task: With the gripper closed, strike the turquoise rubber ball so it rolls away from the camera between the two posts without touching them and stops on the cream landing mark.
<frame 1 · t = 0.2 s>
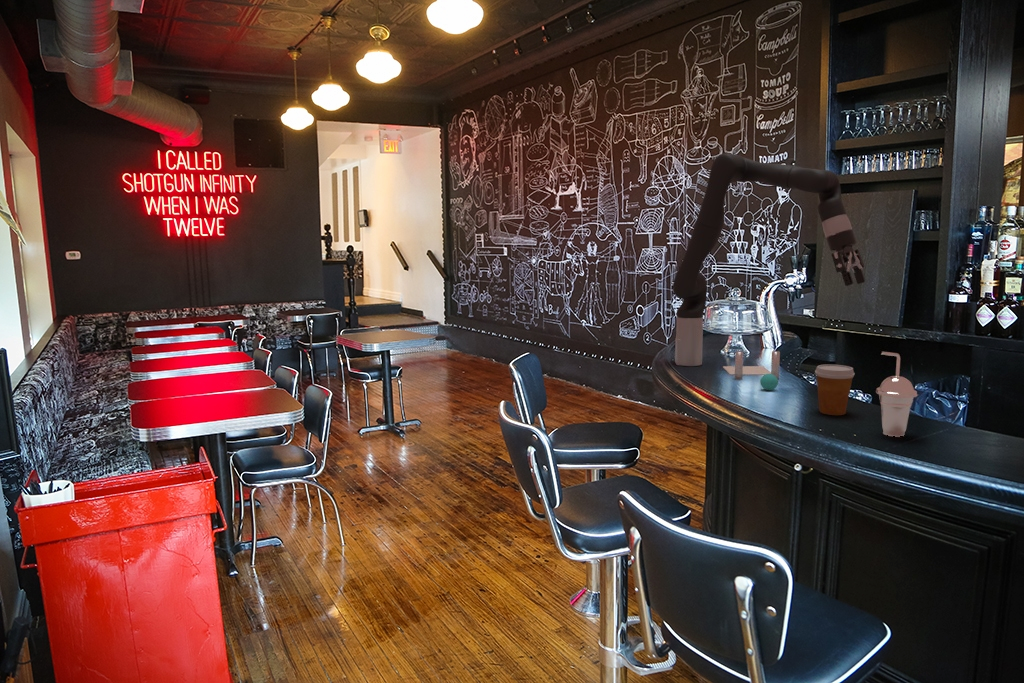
hand: (855, 284, 209), 31 cm above the countertop, tool tilted 20°, fingers open, 8 cm apart
post 1: (738, 379, 228), on the countertop
ball: (769, 382, 212), on the countertop
cup with straw: (892, 434, 165), on the countertop
landing mark: (747, 370, 241), on the countertop
disposable coffee cup: (832, 413, 185), on the countertop
post 2: (774, 379, 227), on the countertop
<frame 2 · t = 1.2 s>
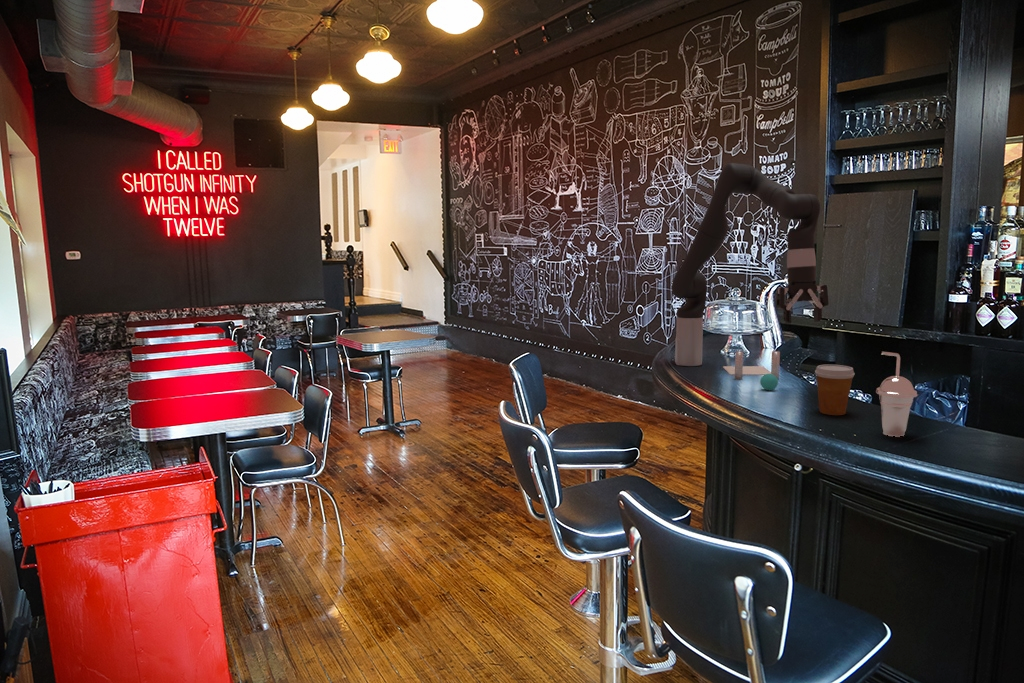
hand: (802, 322, 200), 21 cm above the countertop, tool pointing down, fingers open, 8 cm apart
nothing on the countertop moved.
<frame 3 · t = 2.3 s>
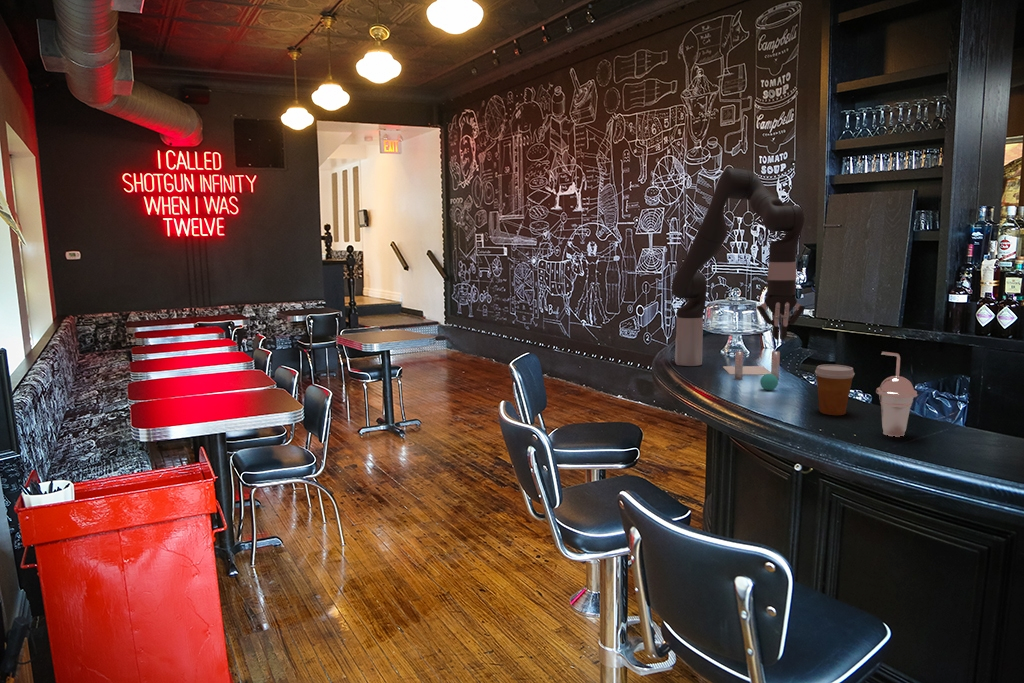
hand: (779, 339, 200), 17 cm above the countertop, tool pointing down, fingers closed
nothing on the countertop moved.
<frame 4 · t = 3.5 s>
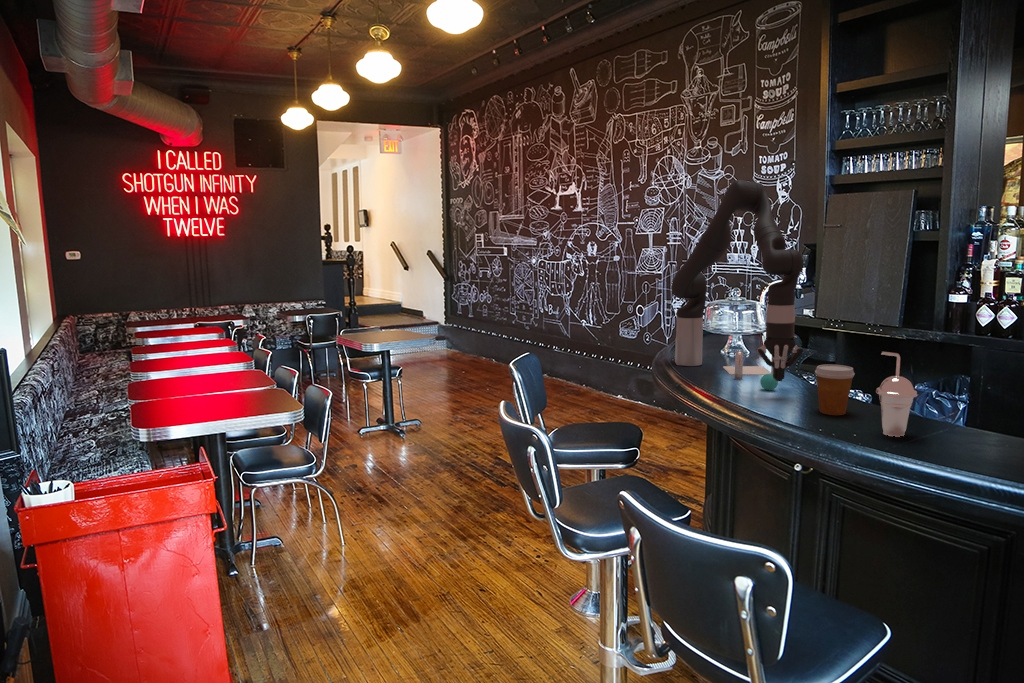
hand: (778, 380, 202), 5 cm above the countertop, tool pointing down, fingers closed
nothing on the countertop moved.
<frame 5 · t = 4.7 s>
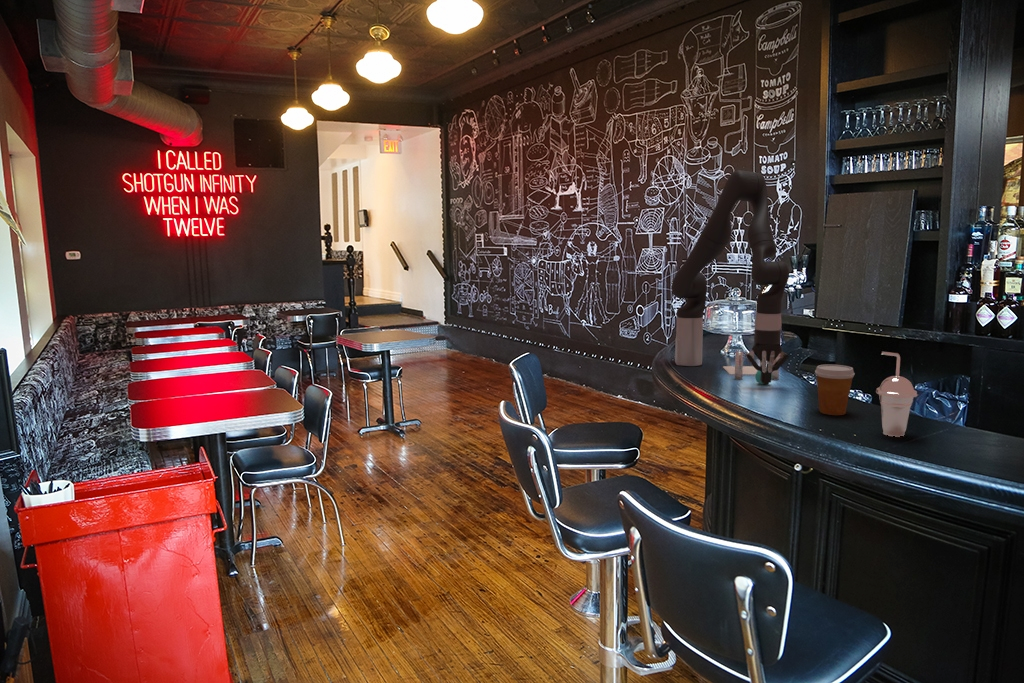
hand: (765, 383, 215), 1 cm above the countertop, tool pointing down, fingers closed
ball: (763, 376, 219), on the countertop
everything else where it was.
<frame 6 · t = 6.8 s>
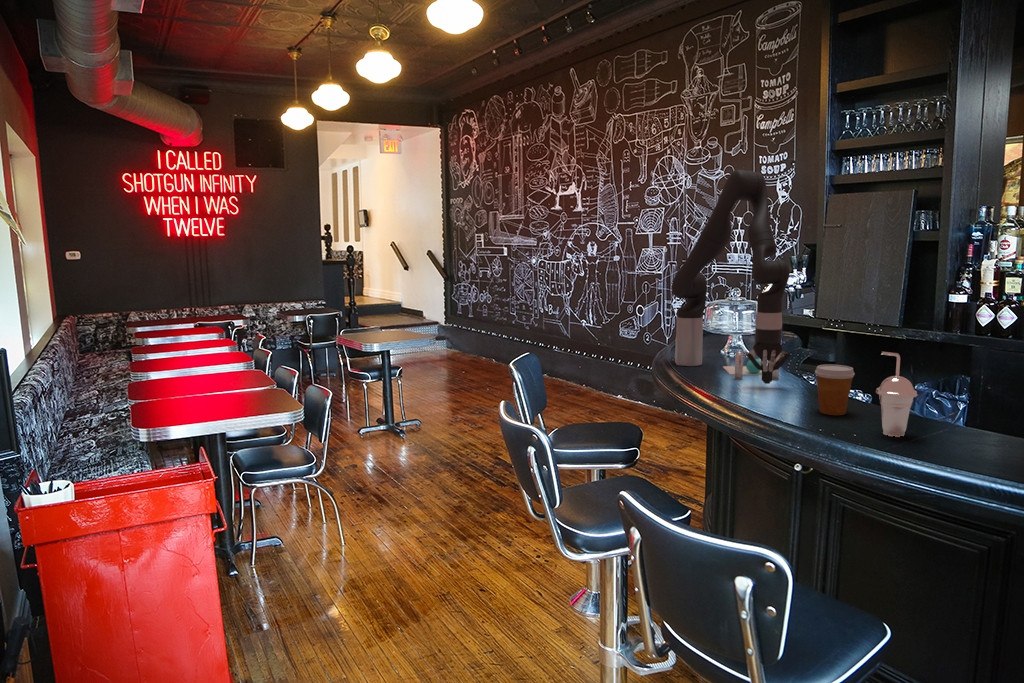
hand: (766, 383, 215), 2 cm above the countertop, tool pointing down, fingers closed
ball: (754, 366, 236), on the countertop
everything else where it was.
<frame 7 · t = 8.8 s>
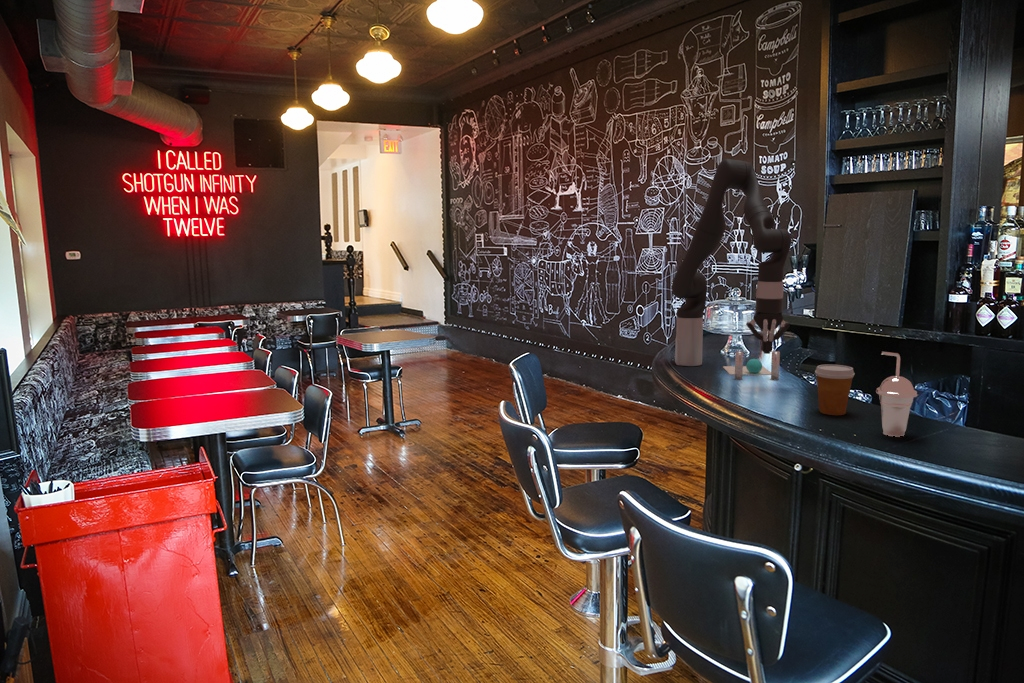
hand: (766, 353, 213), 11 cm above the countertop, tool pointing down, fingers closed
nothing on the countertop moved.
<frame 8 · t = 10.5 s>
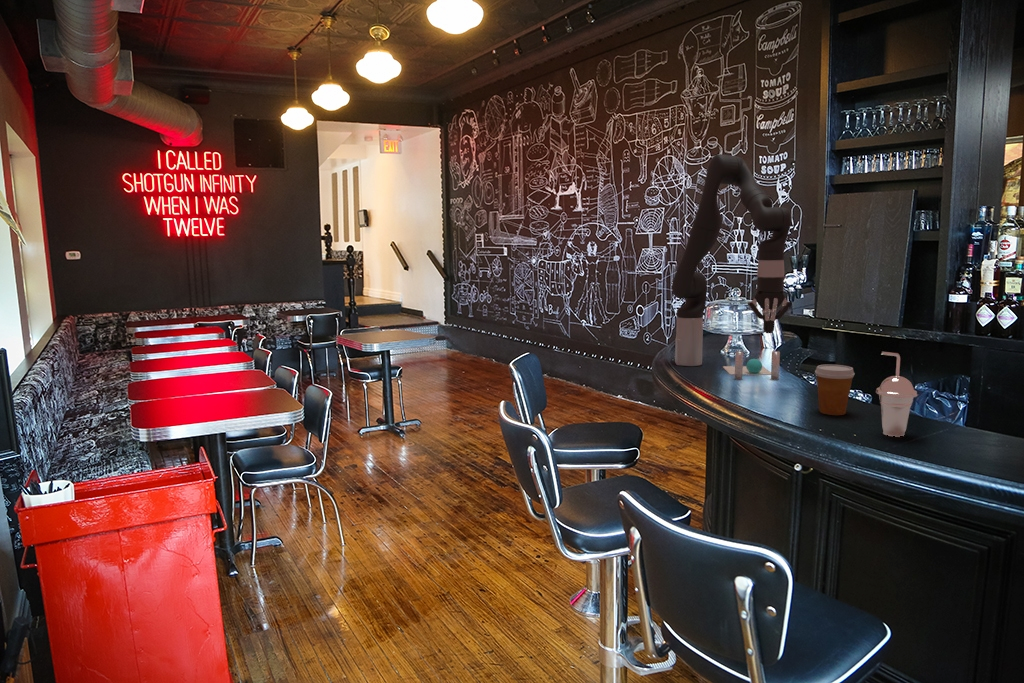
hand: (768, 332, 212), 17 cm above the countertop, tool pointing down, fingers closed
nothing on the countertop moved.
at the end: ball 4.9 cm from the landing mark (horizontally); ball never touched post 1; ball never touched post 2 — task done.
